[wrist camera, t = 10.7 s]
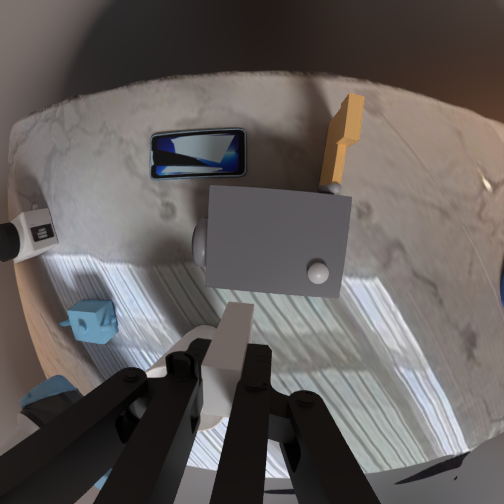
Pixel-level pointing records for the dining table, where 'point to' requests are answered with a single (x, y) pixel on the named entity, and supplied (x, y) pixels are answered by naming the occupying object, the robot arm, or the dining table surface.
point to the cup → (182, 345)
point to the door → (340, 142)
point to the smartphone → (198, 154)
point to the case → (273, 241)
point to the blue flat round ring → (502, 290)
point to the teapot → (92, 321)
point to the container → (27, 236)
